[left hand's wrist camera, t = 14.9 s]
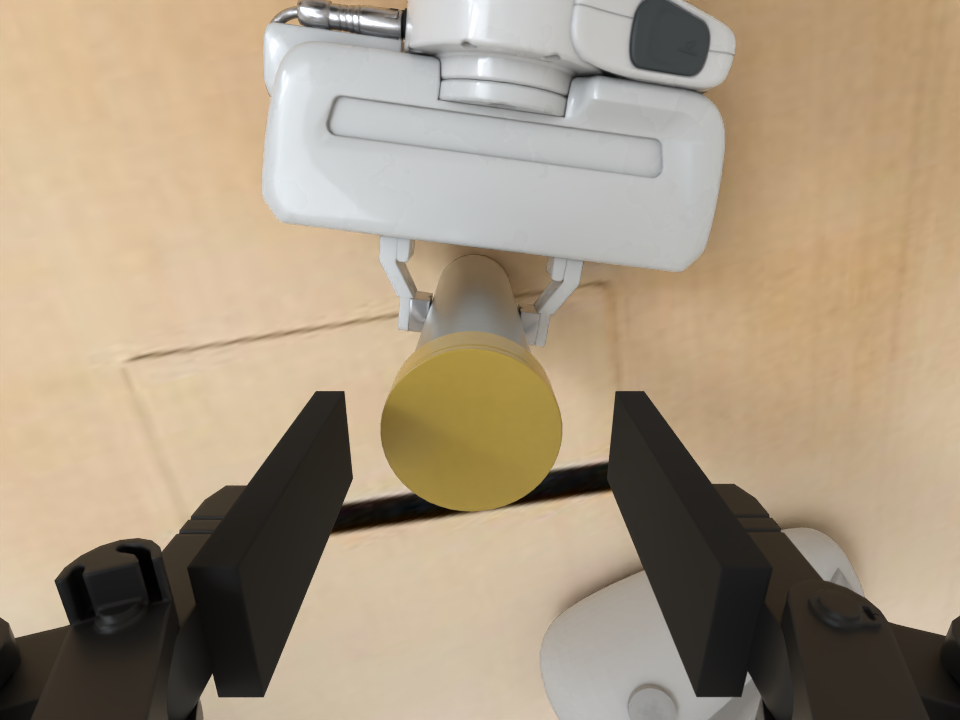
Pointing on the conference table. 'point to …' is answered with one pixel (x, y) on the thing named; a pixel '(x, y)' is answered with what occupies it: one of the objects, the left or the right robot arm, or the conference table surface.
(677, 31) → the right robot arm
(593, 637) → the projector
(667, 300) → the conference table surface
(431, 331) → the bottle
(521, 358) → the lid
